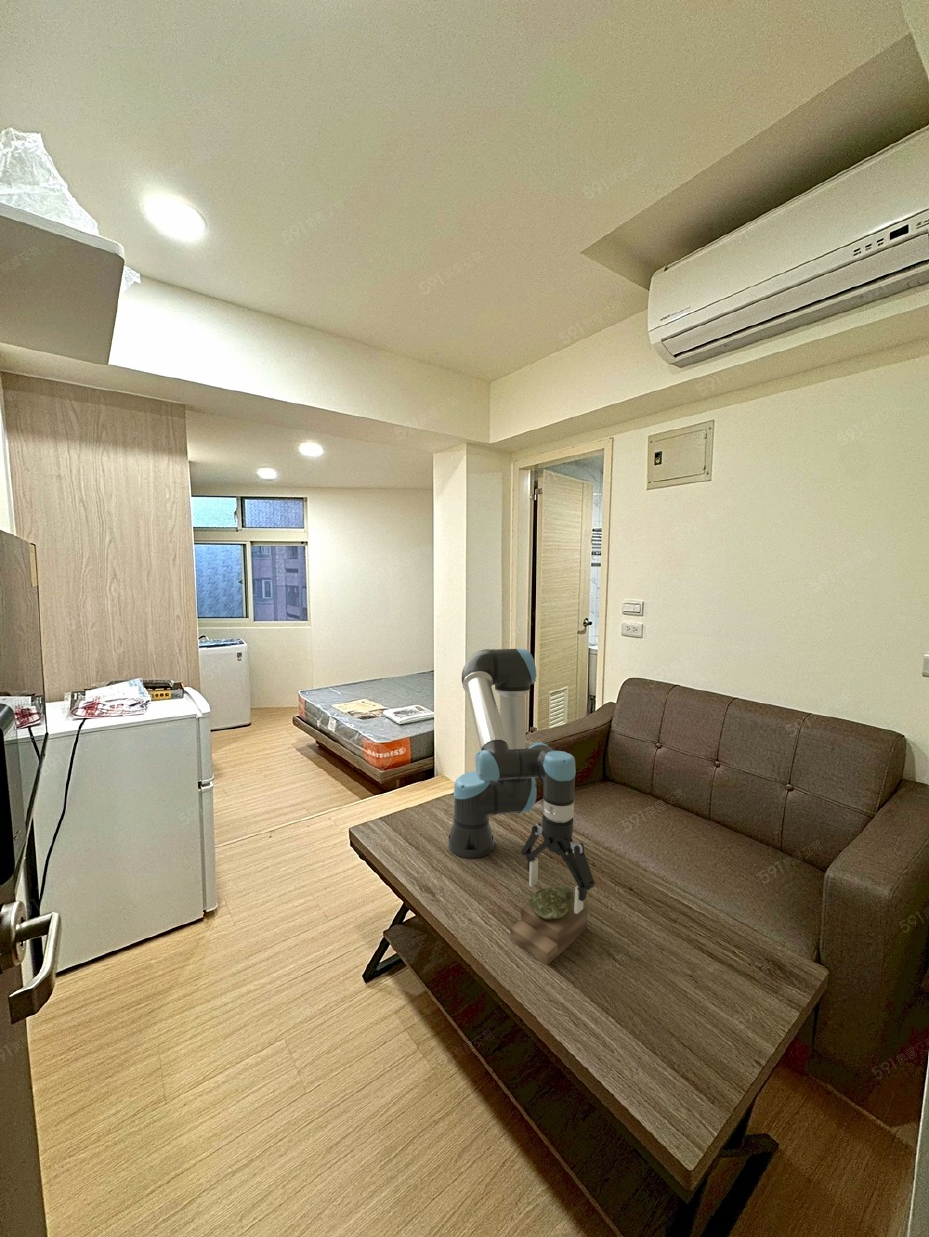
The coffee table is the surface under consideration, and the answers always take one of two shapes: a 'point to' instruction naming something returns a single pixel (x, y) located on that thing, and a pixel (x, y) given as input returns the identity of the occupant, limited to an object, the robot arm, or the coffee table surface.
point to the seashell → (552, 902)
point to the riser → (547, 932)
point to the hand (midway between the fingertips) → (555, 896)
